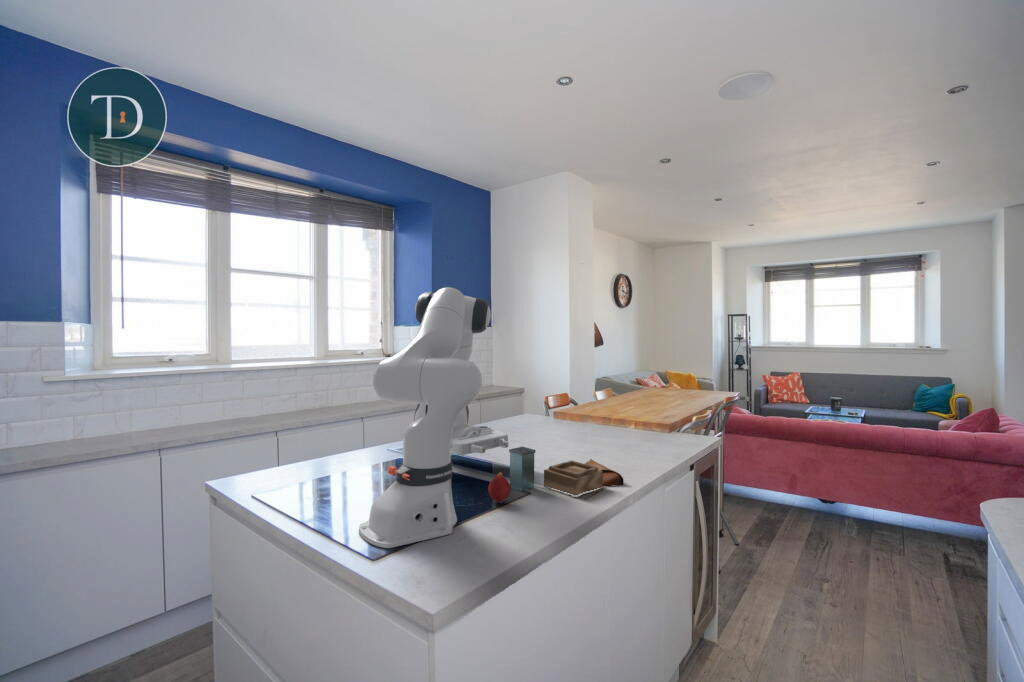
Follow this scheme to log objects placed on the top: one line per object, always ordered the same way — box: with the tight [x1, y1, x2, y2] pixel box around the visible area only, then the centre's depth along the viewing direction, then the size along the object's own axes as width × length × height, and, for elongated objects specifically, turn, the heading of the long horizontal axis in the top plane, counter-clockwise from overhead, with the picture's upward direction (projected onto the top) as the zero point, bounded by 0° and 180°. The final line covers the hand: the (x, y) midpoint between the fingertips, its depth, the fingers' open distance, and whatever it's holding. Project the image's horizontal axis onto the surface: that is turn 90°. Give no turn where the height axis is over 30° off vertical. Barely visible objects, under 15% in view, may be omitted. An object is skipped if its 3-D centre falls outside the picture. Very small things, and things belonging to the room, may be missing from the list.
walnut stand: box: [543, 460, 604, 495], centre depth 137 cm, size 12×12×6 cm
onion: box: [487, 472, 512, 503], centre depth 125 cm, size 6×6×8 cm
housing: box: [508, 445, 536, 492], centre depth 137 cm, size 5×5×11 cm
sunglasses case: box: [584, 458, 624, 487], centre depth 147 cm, size 18×7×7 cm
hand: (495, 447), depth 146 cm, fingers open, 8 cm apart
